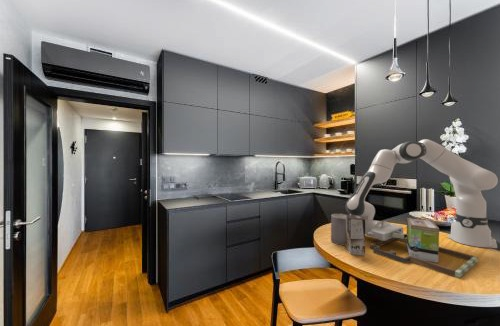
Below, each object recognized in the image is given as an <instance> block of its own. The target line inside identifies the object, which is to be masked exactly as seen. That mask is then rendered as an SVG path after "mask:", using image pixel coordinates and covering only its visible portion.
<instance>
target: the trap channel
mask: <svg viewBox="0 0 500 326" xmlns="http://www.w3.org/2000/svg"><path fill="white" fill-rule="evenodd" d="M406 239H407V238H404V239H401V238H391V239H388V240H386V241H382V240H377V241H375V242H371V243H370V244H369V249H371V250H373V251H372V252H373V253H374V254H377V255H379V256H381V257H385V258H388V259H391V260H394V261H396V262H399V263H403V264H404V265H405V264H409V263H413V264H415V265H419V266H422V267H425V268H428V269H431V270H434V271H437V272H439V273H442V274H445V275H448V276H452V277H453V278H454V277H455V278H456V279H457V278H458V279H460V278H462V277H463V276H464V275H465V274H466V273H468V271H470V269H471V268H473V267H474V266H475V265H476V264H477V263H478V262H479V257H478V256H475V255H471V254H468V253H464V252H460V251H457V250H452V249H449V248H445V247H440V246H439V253H442V254H445V255H449V256H452V257H456V258H460V259H463V260H466V262H465V263H464V264H462V265H461V266H460V267H459V268H458V269H453V268H450V267H446V266H442V265H441V264H437V263H435V262H430V261H425V260H421V259H418V258H415V257H412V256H409V255H408V256H406V257H403V256H399V255H397V251H396V250H393V249H390V250H389V251H384V250H381V246H383V245H386V244H388V243H391V242H393V241H397V242H398V241H399V242H402V243H405V244H406Z"/></svg>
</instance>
